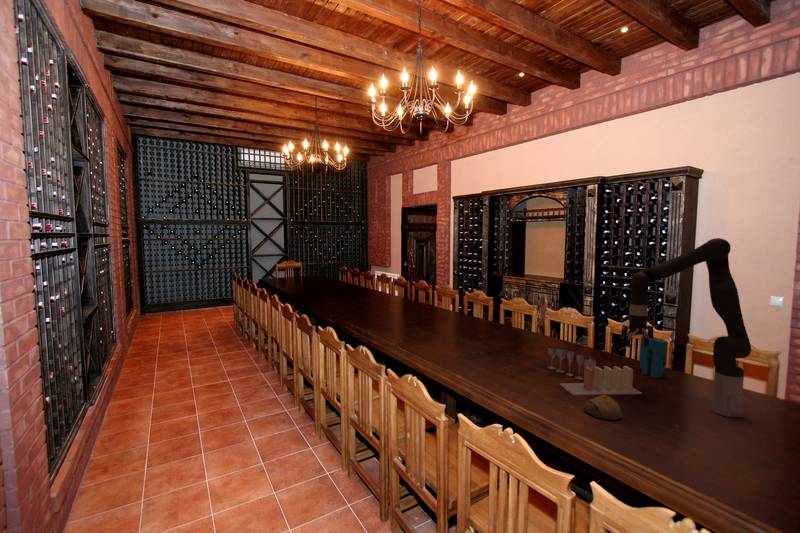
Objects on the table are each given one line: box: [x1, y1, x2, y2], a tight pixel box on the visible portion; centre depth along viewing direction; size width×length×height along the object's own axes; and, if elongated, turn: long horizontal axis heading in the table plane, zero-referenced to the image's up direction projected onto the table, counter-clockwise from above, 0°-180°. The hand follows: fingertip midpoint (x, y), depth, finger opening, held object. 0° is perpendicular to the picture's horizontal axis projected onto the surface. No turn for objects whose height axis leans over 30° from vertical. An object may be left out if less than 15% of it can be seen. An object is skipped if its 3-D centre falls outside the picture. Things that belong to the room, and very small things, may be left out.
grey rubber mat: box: [559, 382, 643, 397], centre depth 184 cm, size 13×34×1 cm, turn 94°
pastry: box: [583, 394, 623, 421], centre depth 158 cm, size 14×12×8 cm
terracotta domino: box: [583, 366, 594, 391], centre depth 183 cm, size 5×2×10 cm, turn 4°
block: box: [639, 335, 669, 379], centre depth 202 cm, size 12×5×20 cm, turn 21°
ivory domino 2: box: [603, 365, 614, 390], centre depth 184 cm, size 5×2×10 cm, turn 4°
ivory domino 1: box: [593, 366, 604, 390], centre depth 183 cm, size 5×2×10 cm, turn 4°
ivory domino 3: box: [612, 365, 623, 390], centre depth 184 cm, size 5×2×10 cm, turn 4°
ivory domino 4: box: [622, 365, 634, 390], centre depth 184 cm, size 5×2×10 cm, turn 4°
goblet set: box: [547, 345, 597, 380], centre depth 202 cm, size 28×6×13 cm, turn 30°
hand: (636, 346), depth 182 cm, fingers open, 8 cm apart
